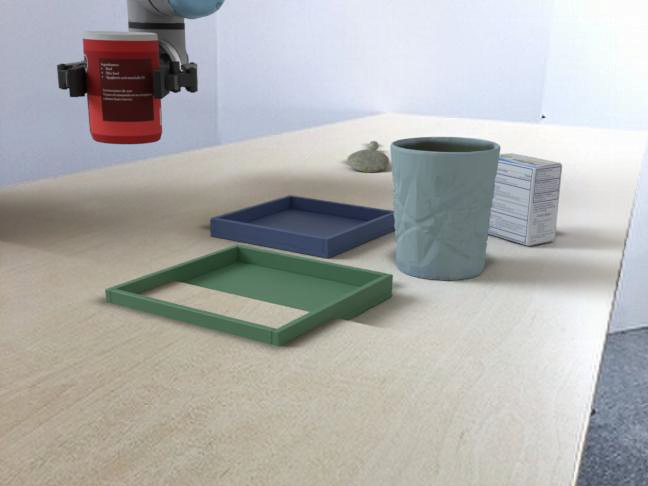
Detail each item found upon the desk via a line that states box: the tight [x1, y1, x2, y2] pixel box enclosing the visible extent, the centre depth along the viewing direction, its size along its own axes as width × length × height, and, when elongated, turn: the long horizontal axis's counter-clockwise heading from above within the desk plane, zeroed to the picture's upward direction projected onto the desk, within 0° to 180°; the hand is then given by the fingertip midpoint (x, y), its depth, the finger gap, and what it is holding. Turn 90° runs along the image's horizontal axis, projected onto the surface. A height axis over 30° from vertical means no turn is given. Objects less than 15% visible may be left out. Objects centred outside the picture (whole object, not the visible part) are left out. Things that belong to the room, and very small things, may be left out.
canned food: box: [82, 30, 163, 145], centre depth 91 cm, size 8×8×11 cm
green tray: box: [104, 243, 394, 347], centre depth 72 cm, size 17×17×2 cm
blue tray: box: [209, 194, 395, 259], centre depth 95 cm, size 15×15×2 cm
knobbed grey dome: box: [346, 140, 390, 173], centre depth 140 cm, size 22×3×7 cm
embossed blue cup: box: [389, 136, 501, 281], centre depth 81 cm, size 10×10×12 cm
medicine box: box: [488, 152, 563, 247], centre depth 94 cm, size 8×4×9 cm, turn 34°
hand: (115, 84), depth 86 cm, fingers closed on canned food, 8 cm apart
